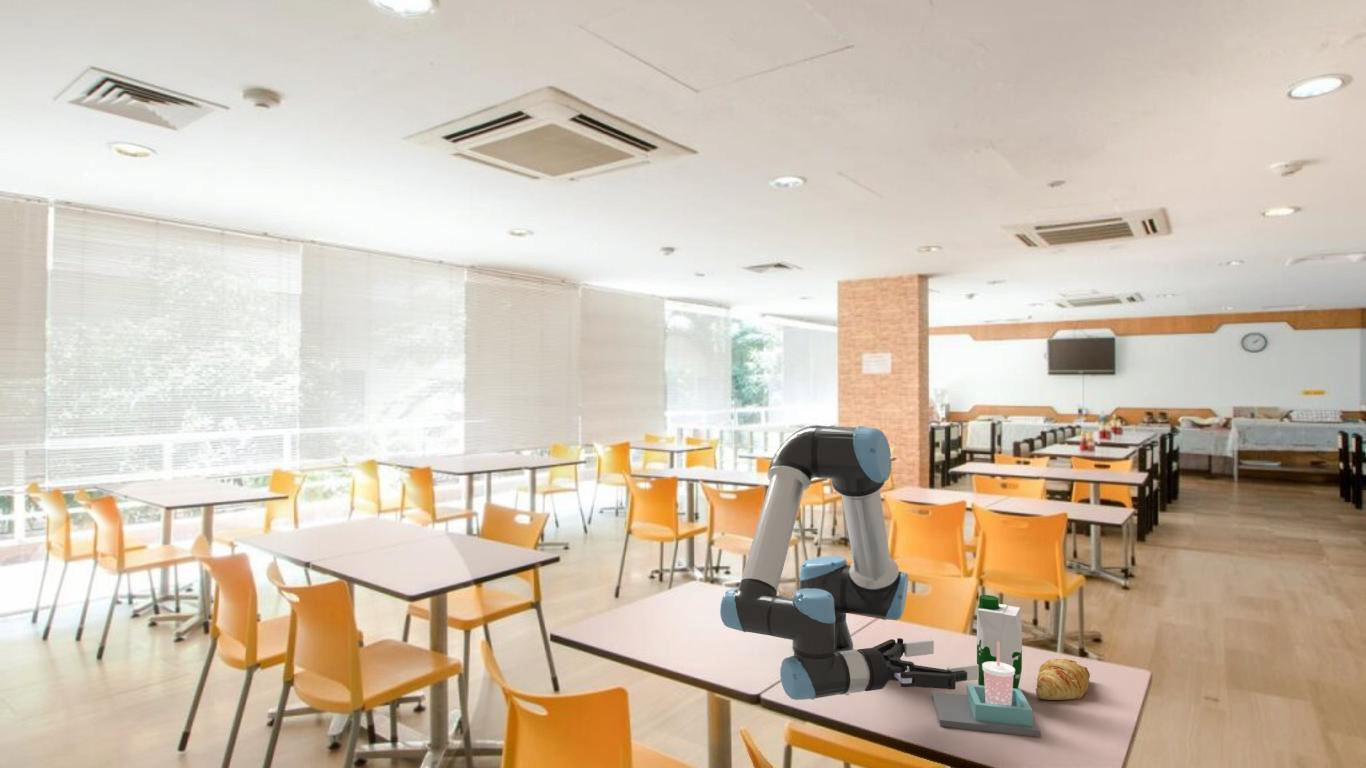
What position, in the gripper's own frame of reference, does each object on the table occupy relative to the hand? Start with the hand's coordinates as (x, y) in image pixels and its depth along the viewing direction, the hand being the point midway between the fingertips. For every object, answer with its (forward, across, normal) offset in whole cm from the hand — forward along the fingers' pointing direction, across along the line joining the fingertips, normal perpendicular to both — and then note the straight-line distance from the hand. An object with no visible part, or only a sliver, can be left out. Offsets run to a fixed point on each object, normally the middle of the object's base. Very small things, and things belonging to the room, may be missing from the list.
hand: (954, 658), depth 142 cm
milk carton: (+20, -10, -13) cm, 26 cm away
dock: (+7, 0, -13) cm, 15 cm away
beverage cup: (+10, +1, -12) cm, 15 cm away
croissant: (+33, -7, -13) cm, 37 cm away
